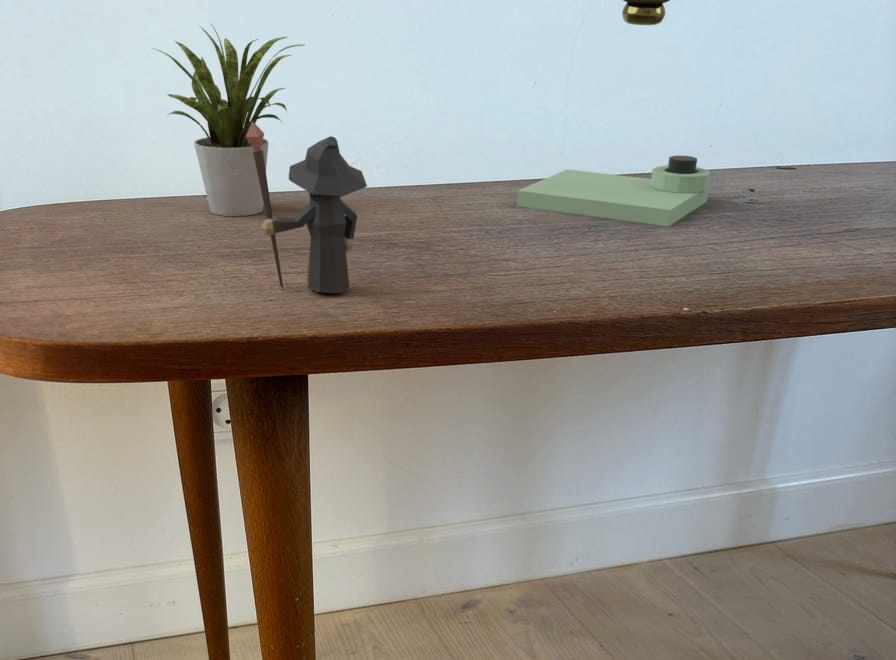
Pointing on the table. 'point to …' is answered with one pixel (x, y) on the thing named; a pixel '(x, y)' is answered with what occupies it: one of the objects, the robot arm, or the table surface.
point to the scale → (620, 195)
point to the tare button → (682, 164)
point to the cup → (644, 12)
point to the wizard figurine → (316, 210)
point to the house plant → (229, 127)
